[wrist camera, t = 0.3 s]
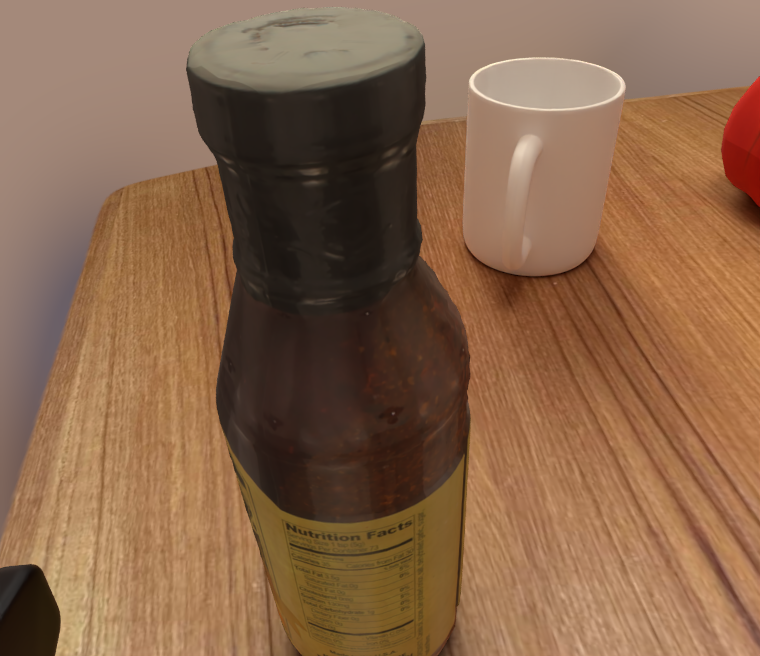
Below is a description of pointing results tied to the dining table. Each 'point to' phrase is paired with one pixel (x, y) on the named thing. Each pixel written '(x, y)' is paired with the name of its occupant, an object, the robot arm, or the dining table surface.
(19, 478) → the dining table surface
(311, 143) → the sauce bottle
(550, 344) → the dining table surface
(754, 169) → the tomato
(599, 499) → the dining table surface
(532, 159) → the cup
